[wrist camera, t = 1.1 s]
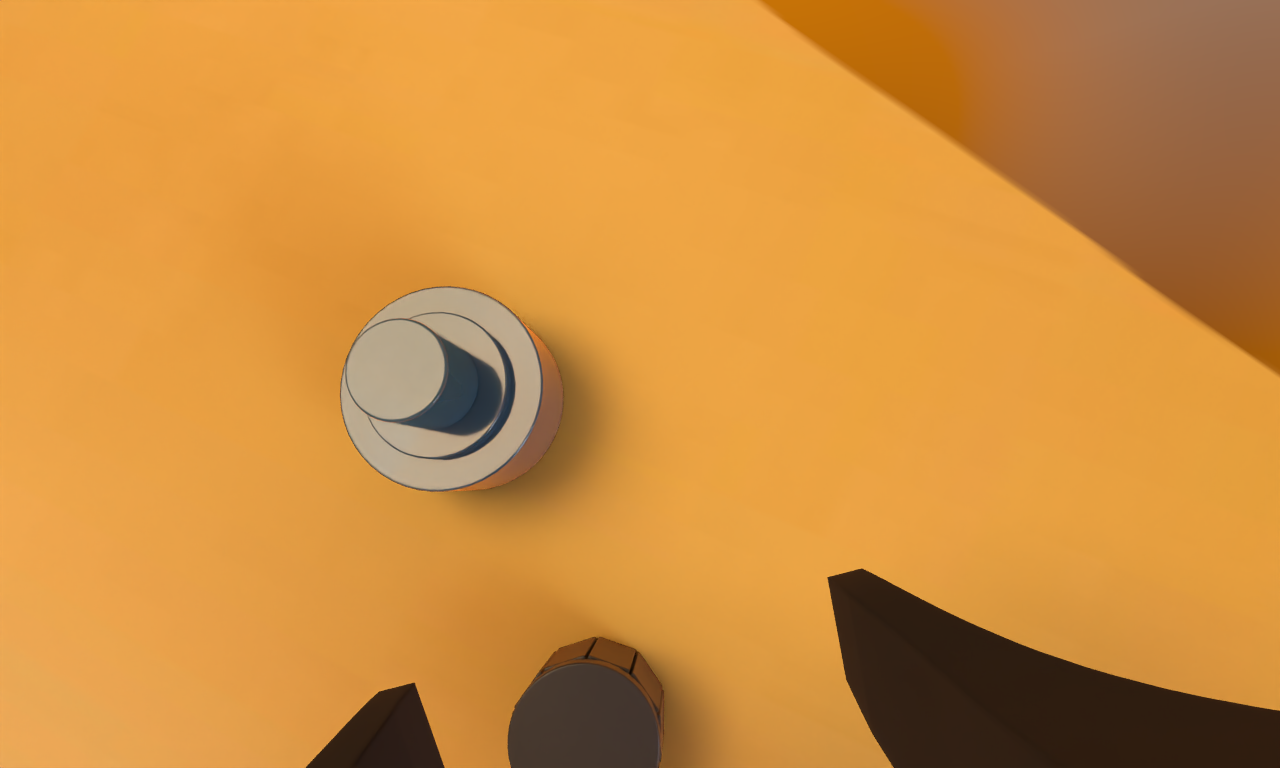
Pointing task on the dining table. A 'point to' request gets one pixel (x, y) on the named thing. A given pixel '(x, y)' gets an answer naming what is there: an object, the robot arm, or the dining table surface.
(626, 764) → the cap
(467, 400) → the bottle
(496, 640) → the dining table surface
